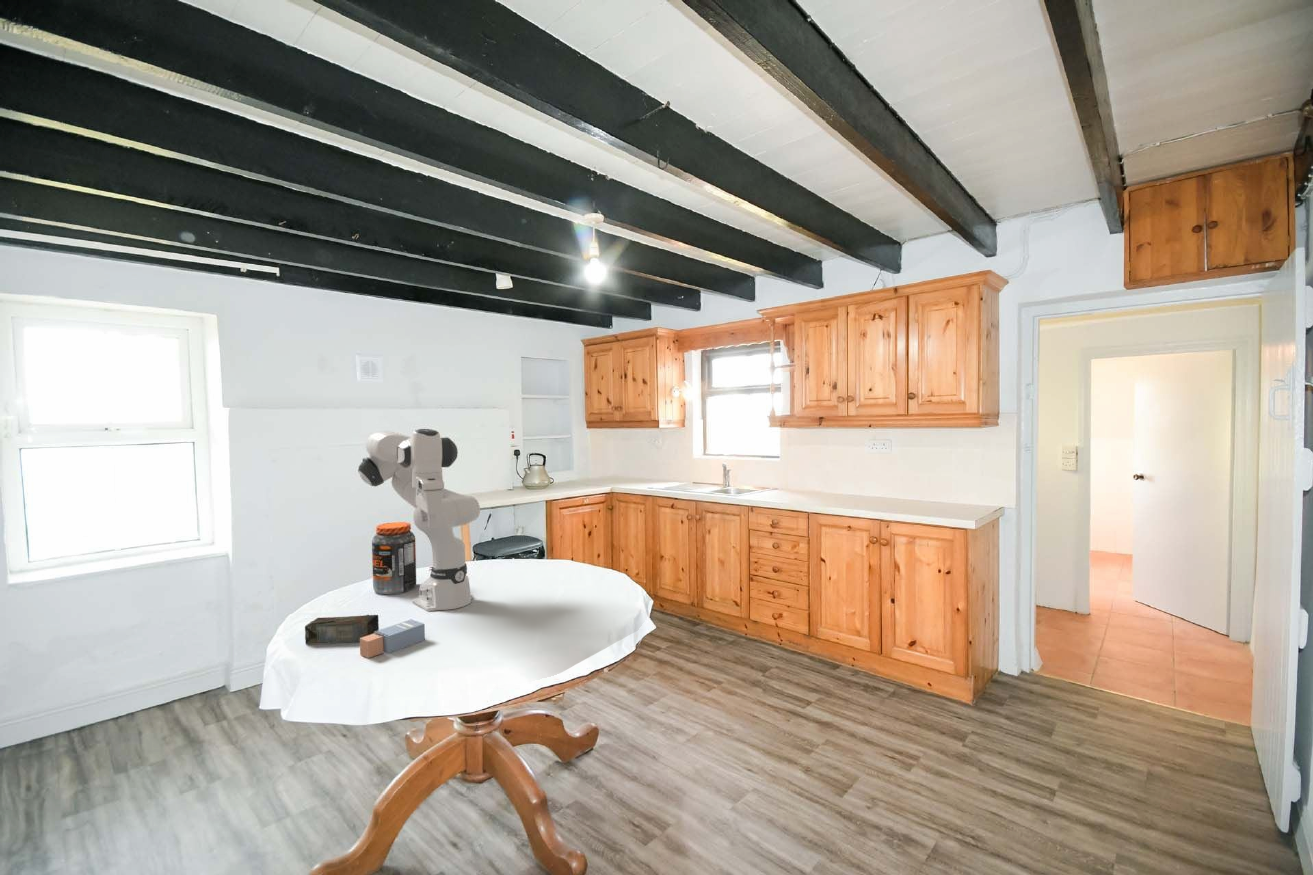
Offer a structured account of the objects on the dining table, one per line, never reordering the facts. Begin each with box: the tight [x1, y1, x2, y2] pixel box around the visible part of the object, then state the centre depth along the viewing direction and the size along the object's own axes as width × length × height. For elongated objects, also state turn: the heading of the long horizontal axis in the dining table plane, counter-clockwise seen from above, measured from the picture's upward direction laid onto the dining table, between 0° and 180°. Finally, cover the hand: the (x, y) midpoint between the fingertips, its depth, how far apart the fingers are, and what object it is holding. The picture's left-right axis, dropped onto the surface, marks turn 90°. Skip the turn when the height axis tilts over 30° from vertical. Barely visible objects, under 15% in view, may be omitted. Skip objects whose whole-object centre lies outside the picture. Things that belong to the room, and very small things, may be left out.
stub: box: [359, 633, 384, 659], centre depth 164 cm, size 4×4×5 cm
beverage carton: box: [304, 614, 380, 645], centre depth 176 cm, size 8×19×7 cm, turn 95°
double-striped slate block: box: [374, 619, 426, 654], centre depth 171 cm, size 7×12×5 cm, turn 146°
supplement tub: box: [371, 521, 417, 595], centre depth 225 cm, size 16×16×26 cm
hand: (427, 524), depth 178 cm, fingers open, 8 cm apart
